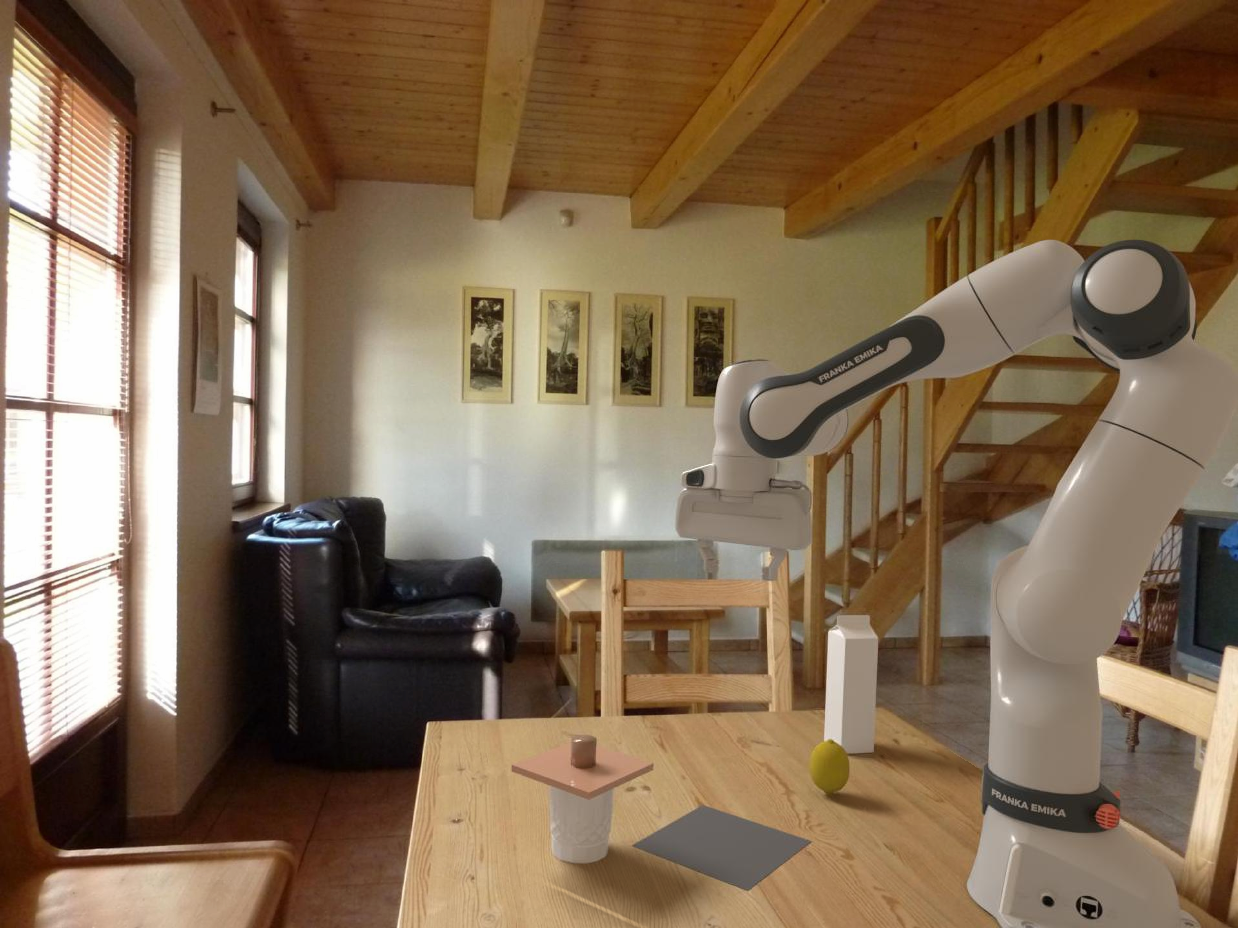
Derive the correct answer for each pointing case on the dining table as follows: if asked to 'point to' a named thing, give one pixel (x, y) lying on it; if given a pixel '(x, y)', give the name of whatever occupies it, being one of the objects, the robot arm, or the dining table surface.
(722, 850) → the mat
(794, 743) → the dining table surface
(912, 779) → the dining table surface
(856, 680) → the milk
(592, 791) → the lid
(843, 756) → the lemon
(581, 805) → the white cup
